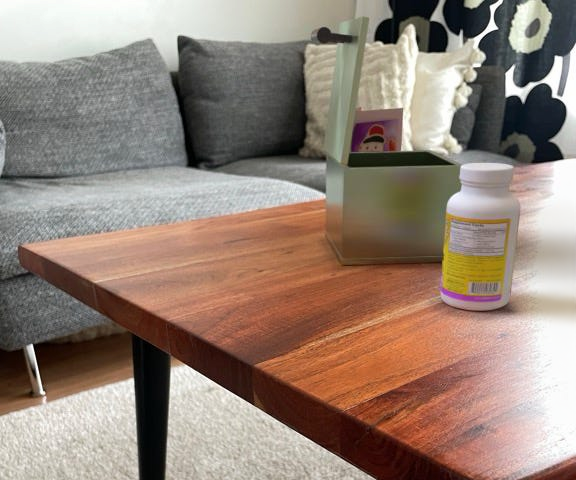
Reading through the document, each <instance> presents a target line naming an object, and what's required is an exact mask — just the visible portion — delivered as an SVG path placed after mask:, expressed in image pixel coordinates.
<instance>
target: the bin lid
mask: <svg viewBox="0 0 576 480" xmlns="http://www.w3.org/2000/svg"><path fill="white" fill-rule="evenodd" d="M369 23H370V17H369V16H359V17H356V18H352V19H348V20H345V21H342V22H340V23H339V31H338V33H336V32H332V30H331V29H330V28H329V27H327V26H322V27H318V28H315V29H313V30H312V31H311V33H310V41H311V42H312V43H313V44H314V45H325V44H329V42H330V43H337V45H336V51H335V58H334V59H335V60H334V67H333V74H332V81H331V82H332V83H331V90H330V96H329V103H328V111H327V118H326V125H325V134H324V141H323V149H324V150H325V151H326V153H327V152H328V153H329V154H331V155H332V156H333V157H334V158H335V159H336V160H337V161H338V162H339V163H340V164H346V165H347V164H348V158H349V151H350V144H351V137H352V131H353V124H354V117H355V111H356V108H357V105H358V104H357V103H358V96H359V89H360V85H361V84H360V83H361V76H362V70H363V63H364V57H365V51H366V50H365V49H366V43H367V37H368V29H369Z"/></svg>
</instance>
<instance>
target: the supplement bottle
mask: <svg viewBox="0 0 576 480" xmlns="http://www.w3.org/2000/svg"><path fill="white" fill-rule="evenodd" d="M514 171H515V167H514V166H513V165H511V164H508V163H500V162H499V163H498V162H470V163H464V164H462V166H461V168H460V177H459V178H460V179H461V183H462V186H461V191H460V192H458V193H456V194H454V195H453V196H452V197H451V198H450V199H449V201H448V203H447V210H446V223H445V236H444V250H443V262H441V264H442V265H441V278H440V280H441V281H440V298H441V300H442V301H443V303H445V304H446V305H447V306H450V307H453V308H456V309H461V310H467V311H475V312H484V311H493V310H497V309H500V308H502V307H504V306H506V305H507V304H508V303H509V302H510V299H511V293H512V285H513V278H514V277H513V276H514V267H515V261H516V260H515V259H516V250H517V241H518V233H519V225H520V217H521V207H522V206H521V202H520V200H519V198H518V197H517V196H516V195H515V194H513V193H511V192H510V185H511V184H512V181H513V179H514Z"/></svg>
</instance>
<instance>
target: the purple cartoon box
mask: <svg viewBox="0 0 576 480" xmlns="http://www.w3.org/2000/svg"><path fill="white" fill-rule="evenodd" d="M403 123H404V107H396V108H395V107H394V108H380V109H369V110H367V109H366V110H362V106H359V107H356V111H355V117H354V124H353V131H352V137H351V144H350V151H349V152H370V151H402V144H403Z"/></svg>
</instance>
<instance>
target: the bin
mask: <svg viewBox="0 0 576 480" xmlns="http://www.w3.org/2000/svg"><path fill="white" fill-rule="evenodd" d="M325 156H326V158H325V223H324V224H325V229H324V230H325V232H324V233H325V234H324V235H325V239H326V240H327V243H328V244H329V245H330V247H331V249H332V250H333V252H334V254H335V256H336V258H337V260H338V261H339V263H340V265H341V266H364V265H365V266H366V265H395V264H400V265H401V264H431V263H443V250H444V236H445V223H446V210H447V203H448V201H449V199H450V198H451V197H452V196H453V195H454V194H456V193H458V192H460V191H461V186H462V183H461V179H460V178H459V177H460V168H461V166H462V165H463V164H462V163H460V162H458V161H455V160H453V159H451V158H449V157H448V156H445V155H442V154H440V153H438V152H436V151H433V150H432V149H431V150H430V149H427V150H424V149H423V150H401V151H370V152H349V158H348V164H347V165H346V164H340V163H339V162H338V161H337V160H336V159H335V158H334V157H333V156H332V155H331V154H329V153H328V152H327V151H326V154H325Z"/></svg>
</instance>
